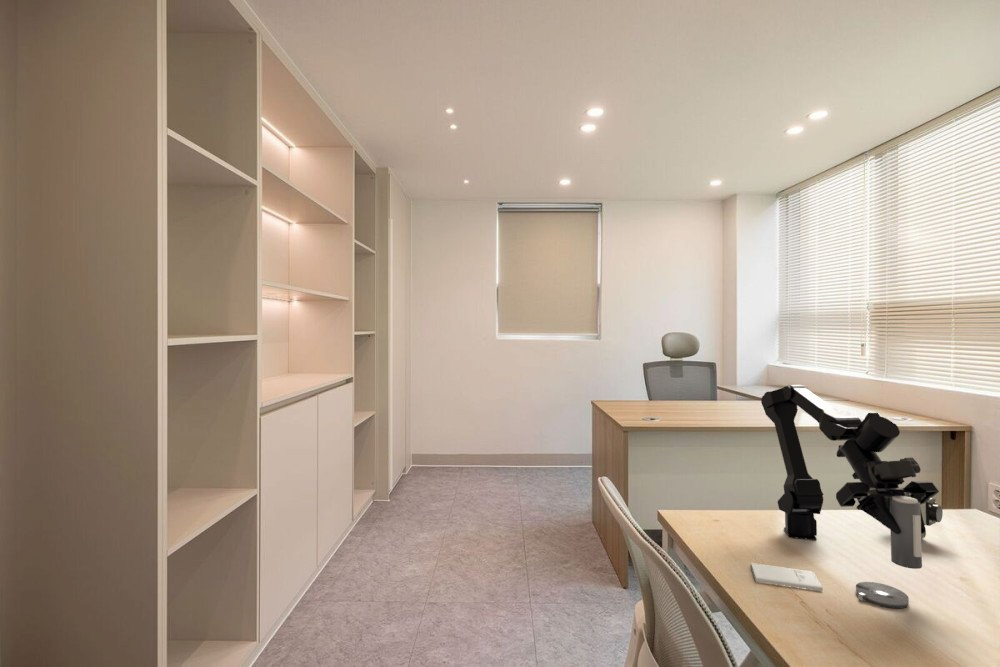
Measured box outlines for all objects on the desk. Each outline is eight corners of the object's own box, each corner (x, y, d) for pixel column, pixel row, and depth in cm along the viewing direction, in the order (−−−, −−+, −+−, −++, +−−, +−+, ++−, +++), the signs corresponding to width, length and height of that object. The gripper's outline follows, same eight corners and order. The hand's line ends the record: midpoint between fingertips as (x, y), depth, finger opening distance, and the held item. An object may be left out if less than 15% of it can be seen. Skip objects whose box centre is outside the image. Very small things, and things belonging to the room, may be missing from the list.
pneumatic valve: (936, 546, 125) (935, 498, 125) (882, 531, 135) (880, 487, 135) (945, 541, 128) (943, 495, 128) (890, 527, 138) (889, 484, 138)
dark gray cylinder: (885, 558, 102) (883, 495, 102) (907, 557, 102) (905, 494, 103) (907, 570, 97) (905, 503, 97) (930, 569, 97) (929, 502, 97)
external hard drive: (750, 569, 114) (812, 577, 110) (755, 585, 106) (822, 594, 102) (750, 562, 114) (812, 570, 110) (755, 577, 107) (822, 586, 102)
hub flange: (879, 585, 105) (879, 580, 105) (920, 606, 96) (919, 599, 96) (842, 590, 103) (841, 584, 103) (880, 611, 95) (880, 604, 95)
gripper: (844, 444, 104) (889, 515, 93) (929, 442, 105) (984, 512, 93) (819, 472, 111) (858, 540, 100) (898, 470, 112) (945, 538, 101)
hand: (911, 533), depth 99 cm, fingers closed on dark gray cylinder, 5 cm apart
